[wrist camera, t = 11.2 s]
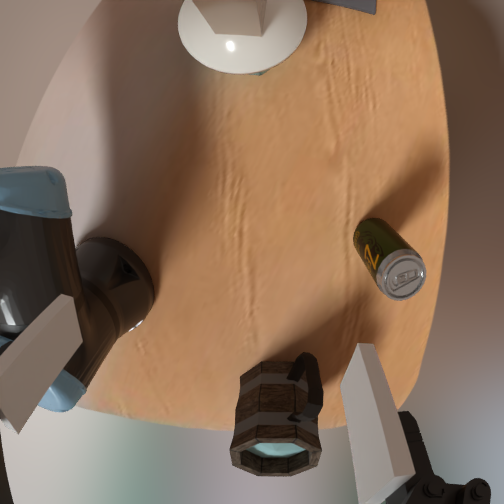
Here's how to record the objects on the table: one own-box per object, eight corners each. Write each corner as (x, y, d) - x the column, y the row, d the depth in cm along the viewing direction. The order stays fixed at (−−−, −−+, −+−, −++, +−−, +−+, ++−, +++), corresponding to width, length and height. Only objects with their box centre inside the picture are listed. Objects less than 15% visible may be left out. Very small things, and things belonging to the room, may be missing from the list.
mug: (295, 416, 53) (296, 482, 39) (227, 398, 52) (216, 467, 38) (348, 345, 45) (368, 420, 31) (269, 320, 44) (265, 399, 30)
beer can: (384, 210, 36) (424, 244, 25) (393, 246, 38) (430, 290, 27) (346, 224, 38) (373, 264, 27) (357, 260, 39) (384, 310, 28)
